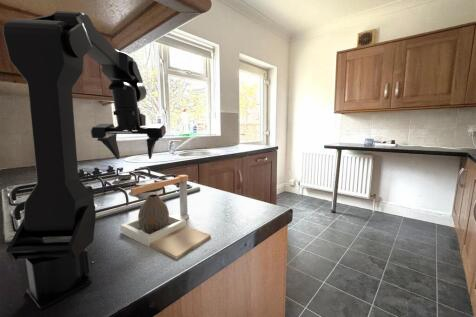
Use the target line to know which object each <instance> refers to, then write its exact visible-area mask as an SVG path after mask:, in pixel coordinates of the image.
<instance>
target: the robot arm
mask: <svg viewBox="0 0 476 317" xmlns="http://www.w3.org/2000/svg"><path fill="white" fill-rule="evenodd" d="M3 38H4V42H5V45H6V51H7V54H8V59H9V61H10V63H11V64H12V65H13V67H14V68H15V70H17V71H18V73H19V74H20V76H22V78H23V79H24V80H25V81H26V84H27V89H28V90H27V91H28V101H29V107H30V108H29V111H30V112H29V113H30V120H31V121H30V122H31V123H30V124H31V132H32V142H33V151H34V153H33V154H34V162H35V174H36V184H35V186H34V187H33V189H32V191H30V194H29V195H28V197H27V198H26V199H25V202H24V206H23V207H24V211H23V219H22V221H21V222H20V224H19V226H18V227H17V230H16V232H15V234H14V235H13V237H12V239H11V241H10V243H9V245H8V247H7V248H6V250H5V251H6V254H7V255H8V257H9V258H10V259H11V261H19V260H25V264H26V269H27V277H28V284H29V286H27V287H26V289H25V290H26V293H27V294H28V295H29V297H30V298H31V299H32V300H33V301H34V303H35V304H36V306H37V307H38V308H39V309H40V310H43V309H45V308H47V307H49V306H51V305H53V304H55V303H57V302H59V301H60V300H62V299H64V298H65V297H68V296H70V295H72V294H73V293H75V292H78V290H81V289H82V288H85V287H86V286H89V285H90V284H91V283H93V278H92V277H90V276H89V274H90V273H91V270H90V269H91V268H90V267H91V266H90V258H89V257H90V256H89V251H88V250H87V248H88V247H89V246H90V245H91V244H92V243H93V242H94V239H95V238H94V236H95V229H96V228H95V225H96V217H97V215H96V214H97V213H96V212H97V211H96V205H95V200H94V199H95V197H94V196H95V195H94V194H95V190H94V188H93V186H92V185H85V184H84V183H83V182H82V181H81V179H80V178H79V169H78V168H79V167H78V155H77V143H76V129H75V128H76V127H75V117H74V116H75V115H74V102H73V87H74V86H75V84H76V83H77V81H78V80H79V78H80V77H81V76H82V74H83V72H84V57H85V56H86V55H87V56H89V57H90V58H91V59H93V60H94V61H95V62H97V63H98V64H99V65H100V71H101V73H102V74H103V75H105V77H106V78H107V79H108V80H109V81H110V82H111V83H110V84H109V85H108V90H111V95H112V102H113V106H114V110H113V116H115V117H116V123H117V125H116V126H115V124H114V123H99V124H96V125H94V126H92V128H91V129H90V135H91V138H93V139H97V142H98V141H99V142H101V143H102V144H103V145H104V146H105V147H106V148H107V149H108V150H109V151H110V152H111V154H113V156H114V157H115V158H116V160H119V159H120V157H121V156H120V150H119V146H118V141H117V135H146V136H147V138H146V145H147V146H146V147H147V156H148V158H149V160H151V159H152V156H153V153H154V148H155V144H156V142H158V141H159V140H160V139H162V138H163V137H164V136H165V135H166V133H167V130H166V128H167V127H166V126H165V124H162V123H151V124H149V125H148V126H147V125H146V124H147V123H146V121H147V120H146V114H144V113H141V109H140V107H139V106H138V105H139V104H138V102H141V101H143V100H144V99H145V98H146V97H147V89H146V87H145V86H144V84H143V81H144V80H143V77H142V76H141V75H142V74H141V73H140V70H139V67H138V64H137V61H135V60H134V58H133V57H132V56H131V55H130V54H128V53H127V52H123V51H120V50H117V49H116V48H115V46H114V45H112V44H111V42H109V41H108V39H107V38H106V37H105V36H104V35H103V34H102V33H101V32H100V31H99V30H98V29H97V28H96V26H94V24H93V22H92V20H91V18H90V17H89V16H88V14H85V13H83V12H82V11H81V12H80V11H66V10H64V11H62V10H56V11H55V12H52V13H51V12H50V13H49V14H47V15H42V16H37V17H33V18H28V19H27V18H12V19H10V20H9V21H6V22H4V25H3ZM144 126H145V127H144ZM146 126H147V127H146ZM62 237H63V238H62ZM65 237H67V238H65ZM68 237H69V238H68ZM43 238H44V239H43ZM45 238H51V239H45ZM52 238H54V239H52ZM55 238H56V239H55Z"/></svg>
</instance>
